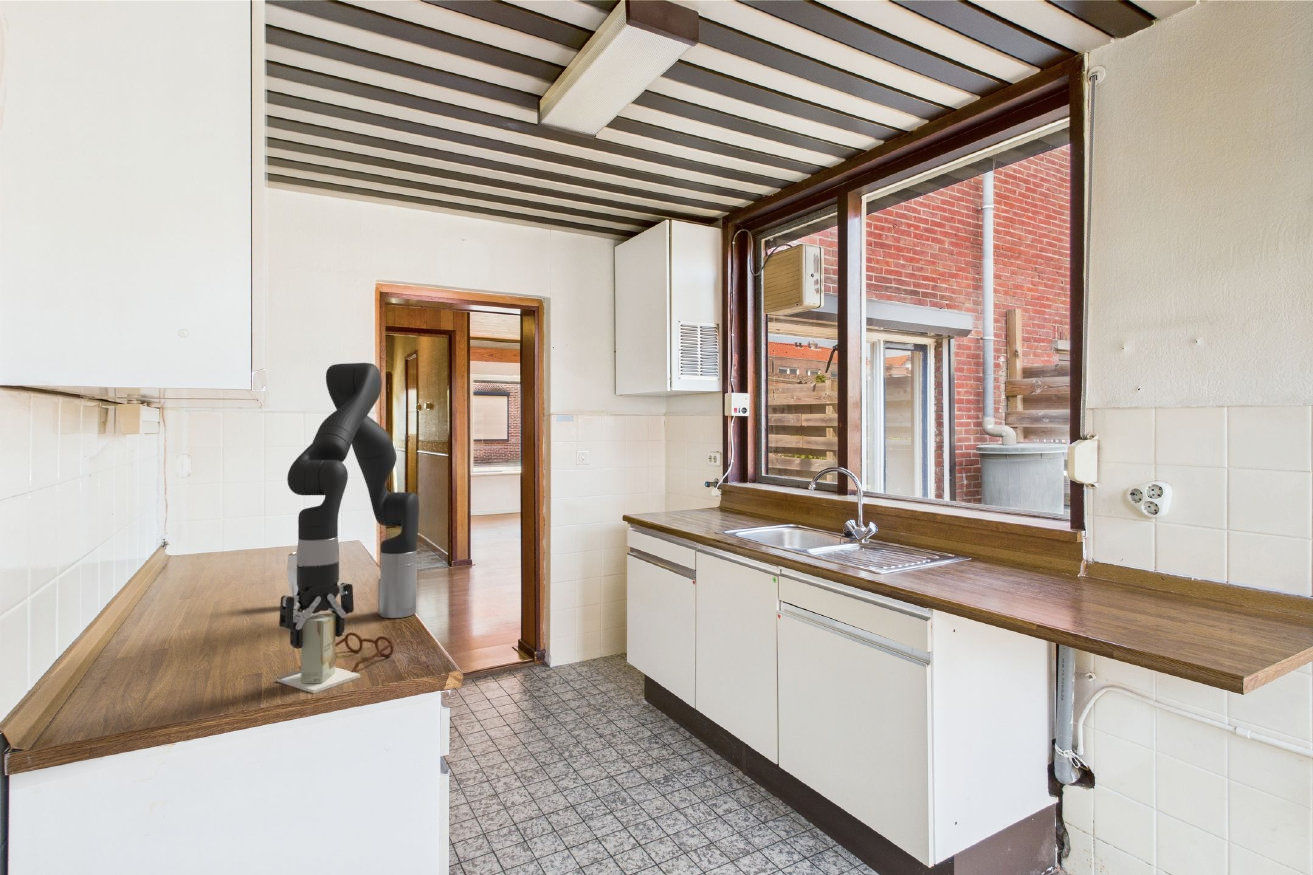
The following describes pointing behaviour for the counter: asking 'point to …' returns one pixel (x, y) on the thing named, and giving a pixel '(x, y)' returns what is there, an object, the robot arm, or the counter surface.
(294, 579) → the beer glass
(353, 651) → the glasses
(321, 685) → the board
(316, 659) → the skincare box
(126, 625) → the counter surface
